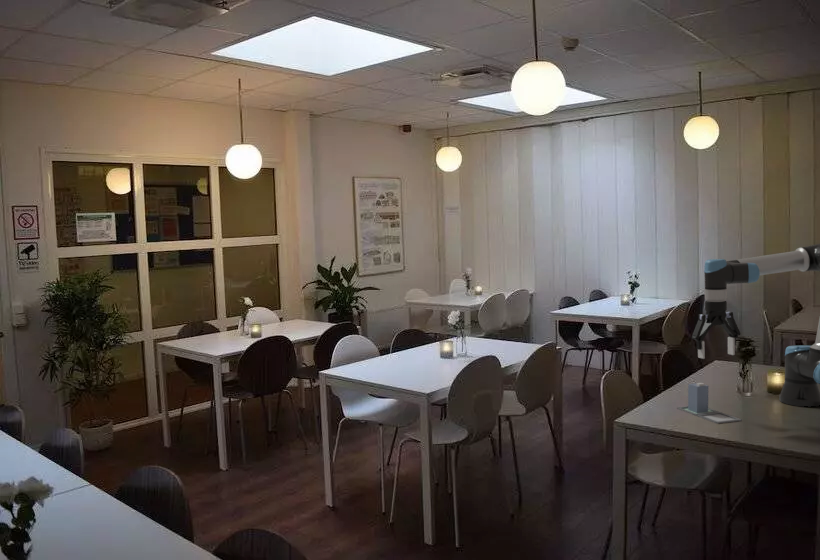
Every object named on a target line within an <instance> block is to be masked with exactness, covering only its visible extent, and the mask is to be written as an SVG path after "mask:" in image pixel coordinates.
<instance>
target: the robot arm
mask: <svg viewBox="0 0 820 560" xmlns="http://www.w3.org/2000/svg"><path fill="white" fill-rule="evenodd" d="M704 261H705V262H704V265H703V267H704V269H703V272H704V274H703V275H704V299H705V300H704V310H705V314H702V313H699V314H698V319H697V322H696V324H695V328H694V330H693V332H692V335H691V337H690V338H691V340H695V342H696V350H697V357H698V358H699V359H703V360H704V359H705V358H706V357H705V340H704V339H705V337H706V336H707V334H708V333H709V331H710V330H711V329H712V328H713V326H717V325H718V326H721V327H722V329H723V330H724V331H725V332H726V334H727V335H728V337H727V355H731V356H735V354H736V353H735V350H736V349H735V347H736V345H737V344H736V342H737V338H739V336H741V332H740V329H739V327H738V324H737V322H736V320H735V318H734V312H732V311H729V310H728V304H727V303H728V302H727V301H726V300H727V299H728V295H727V291H728V290H727V285H731V284H734V285H735V284H751V283H756V282H757V281H759V279H760V276H764V275H771V274H772V275H773V274H778V273H779V274H780V273H787V272H793V271H799V272H804V273H805V272H820V243H817V244H813V245H812V244H811V245H807V246H802V247H798V248H796V249H795V250H793V251H786V252H780V253H773V254H772V253H771V254H766V255H760V256H759V255H758V256H753V257H745V258H738V259H733V260H726V259H724V258H711V259H706V260H704ZM817 325H818V326H817V329H816V330H817V331H816V336H815V341H814V343H813V344H812V345H789V346H787V347H786V348H785V351H784V353H785V354H784V357H785V358H784V383H783V384H782V388H781V391H780V393H779V394H778V395H779V401H780V402H781V403H783V404H786V405H790V406H796V407H804V406H808V407H807V408H812V407H811V406H816V407H820V406H819V405H820V387H819V385H820V317H819V319H818V324H817Z"/></svg>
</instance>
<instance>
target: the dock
mask: <svg viewBox="0 0 820 560" xmlns="http://www.w3.org/2000/svg"><path fill="white" fill-rule="evenodd" d="M676 409H677V410H679V411H682V412H685V413H686V414H690V415H692V416H695V417H698V418H701V419H704V420H706V421H709V422H711V423H714V424H716V425H718V424H719V425H720V424H725V423H733V422H735V423H737V422H742V419H741V418H739V417H737V416H733V415H731V414H727V413H724V412H721V411H718V410H716V409H713V408H709V407H708V412H702V413H695V412H693V411H690V410H688V405H687V406H685V405H684V406H677V407H676Z"/></svg>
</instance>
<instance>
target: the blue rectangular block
mask: <svg viewBox="0 0 820 560" xmlns="http://www.w3.org/2000/svg"><path fill="white" fill-rule="evenodd" d="M687 393H688V394H687V398H688V399H687V406H688V410H690V411H693V412H695V413H702V412H708V408H709V385H707V384H705V383H703V382H697V383H696V382H694V383H688V389H687Z"/></svg>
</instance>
